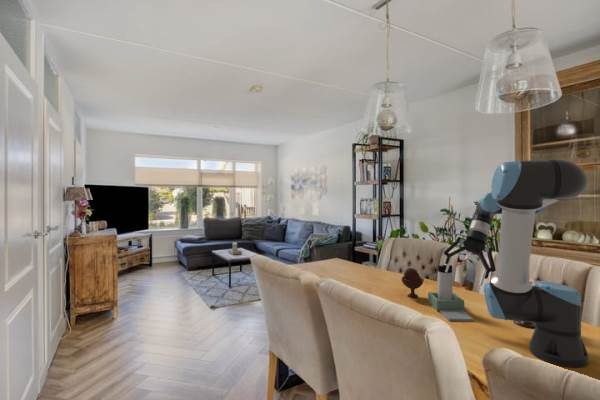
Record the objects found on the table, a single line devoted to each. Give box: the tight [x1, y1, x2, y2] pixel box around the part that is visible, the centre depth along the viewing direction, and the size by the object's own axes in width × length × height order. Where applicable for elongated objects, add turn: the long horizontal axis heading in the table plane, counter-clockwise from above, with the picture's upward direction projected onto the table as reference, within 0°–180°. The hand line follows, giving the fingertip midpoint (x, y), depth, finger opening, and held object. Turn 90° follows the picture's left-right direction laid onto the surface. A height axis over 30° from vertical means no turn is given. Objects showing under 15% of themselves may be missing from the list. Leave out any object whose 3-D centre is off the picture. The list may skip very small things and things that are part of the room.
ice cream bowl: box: [401, 267, 425, 299], centre depth 168 cm, size 11×11×15 cm
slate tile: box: [439, 310, 474, 322], centre depth 140 cm, size 10×10×1 cm
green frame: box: [427, 291, 465, 312], centre depth 152 cm, size 12×12×5 cm
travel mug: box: [437, 264, 454, 300], centre depth 152 cm, size 6×7×20 cm
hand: (463, 278), depth 136 cm, fingers open, 13 cm apart
